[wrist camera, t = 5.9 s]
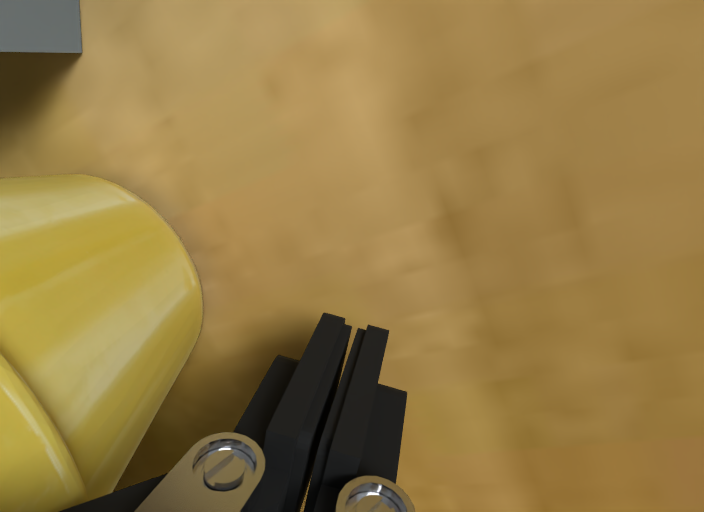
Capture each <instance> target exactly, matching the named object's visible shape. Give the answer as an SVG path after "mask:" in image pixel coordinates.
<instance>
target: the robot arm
mask: <svg viewBox="0 0 704 512" xmlns="http://www.w3.org/2000/svg"><path fill="white" fill-rule="evenodd" d="M344 323H345V318H342V317H339V316H335V315H332V314H328V313H323V315H322V317H321V319H320V321H319V323H318V325H317V327H316V329H315V331H314V333H313V335H312V337H311V340H310V342H309V344H308V346H307V348H306V350H305V352H304V354H303V356H302V358H301V360H300V361H298V360H295V359H291V358H288V357H284V356H281V355H278V356H277V357H276V358H275V360H274V362H273V363H272V365H271V367H270V369H269V370H268V372H267V374H266V376H265V377H264V379H263V381H262V383H261V384H260V386H259V388H258V390H257V391H256V393H255V395H254V397H253V398H252V400H251V402H250V404H249V405H248V407H247V409H246V411H245V412H244V414H243V416H242V418H241V419H240V421H239V423H238V425H237V426H236V428H235V430H234V432H233V433H230V432H222V433H217V434H212V435H210V436H207V437H205V438H203V439H201V440H200V441H198V442H197V443H196V444H195V445H194V446H192V447H191V448H190V450H189V451H188V452H187V453H186V454H185V455H184V456H183V457H182V459H181V460H180V461H179V462H178V463H177V464H176V465H175V466H174V468H173V469H172V470H171V471H170V472H169V473H167V474H164V475H162V476H159V477H156V478H153V479H150V480H147V481H144V482H141V483H139V484H136V485H133V486H130V487H127V488H124V489H121V490H119V491H116V492H113V493H110V494H107V495H104V496H101V497H99V498H96V499H93V500H90V501H87V502H84V503H81V504H79V505H76V506H73V507H70V508H67V509H64V510H61V511H59V512H300V509H301V506H302V503H303V500H304V497H305V494H306V491H307V488H308V485H309V482H310V486H309V490H308V495H307V499H306V503H305V508H304V512H415V508H414V505H413V503H412V502H411V500H410V498H409V496H408V495H407V494H406V493H405V492H404V491H403V490H402V489H401V488H400V487H399V486H398V485H396V478H397V470H398V462H399V454H400V446H401V439H402V431H403V423H404V415H405V408H406V400H407V392H406V391H402V390H399V389H395V388H392V387H388V386H385V385H381V384H378V379H379V375H380V370H381V366H382V361H383V357H384V352H385V348H386V343H387V339H388V334H389V330H386V329H382V328H379V327H375V326H371V325H368V326H367V330H364V329H360V328H358V330H357V333H356V336H355V339H354V342H353V345H352V348H351V351H350V354H349V356H348V359H347V362H346V365H345V368H344V371H343V374H342V377H341V380H340V376H341V372H342V368H343V363H344V359H345V355H346V350H347V346H348V342H349V338H350V333H351V329H352V326H349V325H346V324H344ZM339 380H340V383H339ZM338 385H339V386H338ZM312 472H313V473H312ZM311 476H312V477H311ZM310 479H311V481H310Z"/></svg>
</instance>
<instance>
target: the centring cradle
mask: <svg viewBox="0 0 704 512" xmlns="http://www.w3.org/2000/svg"><path fill="white" fill-rule="evenodd" d="M0 52H52V53H82V44H81V27H80V9H79V0H0Z"/></svg>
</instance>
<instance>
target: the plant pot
mask: <svg viewBox="0 0 704 512" xmlns="http://www.w3.org/2000/svg"><path fill="white" fill-rule="evenodd" d="M202 318H203V299H202V289H201V284H200V281H199V277H198V274H197V271H196V268H195V266H194V263H193V261H192V259H191V257H190V255H189V253H188V252H187V250H186V248H185V246H184V245H183V243H182V241H181V240H180V238H179V237H178V235H177V234H176V233H175V231H174V230H173V229H172V227H171V226H170V225H169V224H168V223H167V222H166V220H165V219H164V218H163V217H162V216H161V215H160V214H159V213H158V212H157V211H156V210H154V209H153V208H152V207H151V206H150V205H149V204H147V203H146V202H145V201H144V200H142V199H141V198H139V197H138V196H137V195H135V194H134V193H132V192H130V191H129V190H127V189H125V188H123V187H121V186H119V185H117V184H115V183H113V182H110V181H108V180H105V179H102V178H98V177H94V176H89V175H83V174H63V175H47V176H30V177H13V178H0V512H59V511H61V510H64V509H67V508H70V507H73V506H76V505H79V504H81V503H84V502H87V501H90V500H93V499H96V498H99V497H101V496H104V495H107V494H110V493H112V492H113V490H114V488H115V487H116V485H117V483H118V481H119V479H120V478H121V476H122V474H123V472H124V471H125V469H126V467H127V465H128V463H129V462H130V460H131V458H132V456H133V454H134V453H135V451H136V449H137V447H138V446H139V444H140V442H141V440H142V438H143V437H144V435H145V433H146V431H147V429H148V428H149V426H150V424H151V422H152V420H153V419H154V417H155V415H156V413H157V412H158V410H159V408H160V406H161V404H162V403H163V401H164V399H165V397H166V396H167V394H168V392H169V390H170V389H171V387H172V385H173V384H174V382H175V380H176V378H177V377H178V375H179V373H180V371H181V370H182V368H183V366H184V364H185V363H186V361H187V359H188V357H189V355H190V353H191V351H192V350H193V348H194V346H195V344H196V341H197V339H198V337H199V334H200V330H201V326H202Z"/></svg>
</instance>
